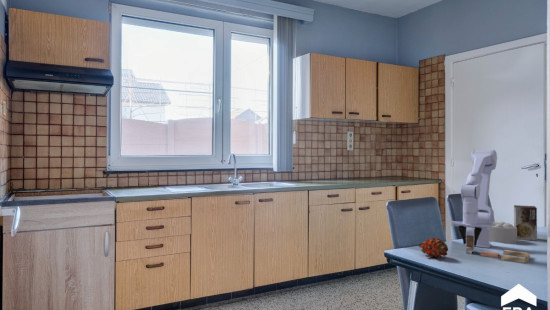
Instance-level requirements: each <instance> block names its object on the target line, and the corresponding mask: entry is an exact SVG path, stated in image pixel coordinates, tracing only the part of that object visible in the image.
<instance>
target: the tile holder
mask: <svg viewBox="0 0 550 310" xmlns="http://www.w3.org/2000/svg"><path fill="white" fill-rule="evenodd" d="M502 252H503V253H502V254H501V255H500V260H501V261H508V262H515V263H520V264H521V263H523V264H529V263H530V252H523V251H516V250H515V251H514V250H509V249H503V251H502Z"/></svg>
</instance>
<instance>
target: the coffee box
mask: <svg viewBox="0 0 550 310" xmlns="http://www.w3.org/2000/svg"><path fill="white" fill-rule="evenodd" d="M537 210H538V208H537V207H536V206H535V205H518V204H515V205H513V226H515V227H517V240H523V241H538V231H537V230H538V216H537V215H538V214H537V213H538V211H537Z"/></svg>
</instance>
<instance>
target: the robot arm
mask: <svg viewBox="0 0 550 310" xmlns="http://www.w3.org/2000/svg"><path fill="white" fill-rule="evenodd" d="M497 153H498V152H497V151H496V149H473V150H472V151H471V153H470V160H471V163H472V170H471V172H469V173H468V175H467V178H466V180H465V182H464V183H465V184H464V185H462V186H461V188H460V195H461V202H462V221H459V220H458V221H456V220H452V221H451V223H450V224H451V225H450V227H458V228H457V229H458V232H459V233H460V236H461V239H462V243H463V244H462V245H466V236H467V235H471V236H474V247H478V248H479V247H480V248H486V249H489V248H491V247H492V243H490V241H489V239H490V226H492V225H493V223H494V222H495V217H494V216H495V215H494V213H495V212H494V210H493V208H492V207H490V206H489V204H488V203H489V193H490V183H491V175H492V171H493V170H494V171H495V170H496V167H497V164H498V163H497V162H498V161H497V160H498V155H497Z"/></svg>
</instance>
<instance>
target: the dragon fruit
mask: <svg viewBox="0 0 550 310" xmlns="http://www.w3.org/2000/svg"><path fill="white" fill-rule="evenodd" d="M418 247H419V249H421V253H423V254H425V255H428V256H429V258H430V257H431V258H434V257H435V258H436V259H441V257H442V256H443V257H446V256H448V251H449V248H448V245H447V243H446V242H445V241H443V240H442V239H441V238H439V237H437V238H435V237H429V239H427V240H425V241H423V242H421V243H419V245H418Z"/></svg>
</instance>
